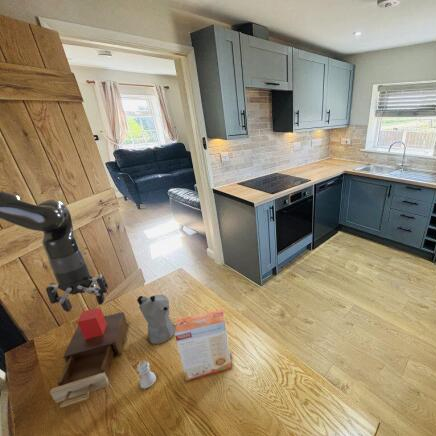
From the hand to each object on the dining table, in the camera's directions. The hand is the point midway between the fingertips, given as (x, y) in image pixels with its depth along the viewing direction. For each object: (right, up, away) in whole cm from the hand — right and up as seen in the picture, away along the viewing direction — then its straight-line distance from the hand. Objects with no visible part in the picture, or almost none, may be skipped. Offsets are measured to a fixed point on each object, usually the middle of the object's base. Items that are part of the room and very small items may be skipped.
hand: (85, 306), depth 78 cm
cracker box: (+41, -21, +1) cm, 46 cm away
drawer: (+5, -21, -5) cm, 22 cm away
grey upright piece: (+18, -15, +13) cm, 27 cm away
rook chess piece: (+23, -22, -4) cm, 33 cm away
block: (0, -11, +5) cm, 12 cm away
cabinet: (0, -17, +7) cm, 18 cm away
